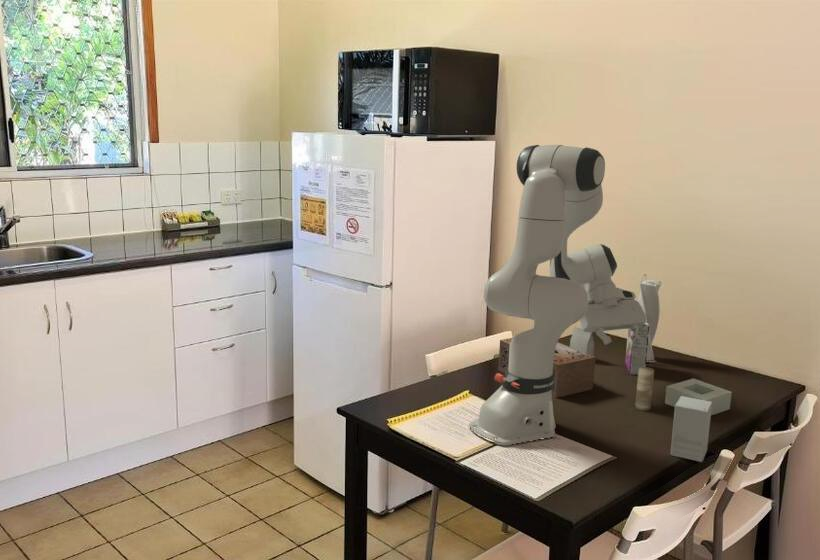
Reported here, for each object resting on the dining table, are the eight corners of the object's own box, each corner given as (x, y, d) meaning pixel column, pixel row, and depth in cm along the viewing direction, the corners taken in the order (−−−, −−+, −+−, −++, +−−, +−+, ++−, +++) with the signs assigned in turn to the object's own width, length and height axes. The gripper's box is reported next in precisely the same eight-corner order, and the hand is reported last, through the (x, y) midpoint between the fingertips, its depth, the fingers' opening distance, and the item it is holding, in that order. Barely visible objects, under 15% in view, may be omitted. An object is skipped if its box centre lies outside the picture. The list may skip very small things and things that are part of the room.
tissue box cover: (592, 389, 213) (595, 357, 211) (555, 398, 206) (557, 364, 204) (534, 363, 235) (536, 333, 233) (498, 370, 227) (499, 339, 225)
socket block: (702, 418, 194) (704, 400, 193) (664, 403, 204) (666, 386, 203) (729, 409, 201) (731, 391, 200) (691, 394, 210) (693, 378, 209)
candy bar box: (623, 363, 237) (628, 313, 233) (640, 364, 236) (644, 314, 232) (628, 374, 226) (633, 323, 222) (645, 376, 225) (650, 324, 221)
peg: (643, 411, 198) (647, 373, 195) (632, 406, 201) (635, 368, 198) (653, 408, 200) (657, 370, 197) (641, 403, 203) (645, 366, 201)
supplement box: (707, 451, 175) (713, 401, 172) (702, 463, 169) (708, 411, 166) (675, 443, 179) (680, 394, 176) (669, 455, 173) (674, 404, 170)
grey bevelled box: (585, 362, 236) (587, 332, 234) (569, 356, 241) (571, 327, 239) (592, 360, 238) (595, 330, 236) (576, 354, 244) (578, 325, 241)
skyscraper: (624, 355, 245) (632, 273, 239) (647, 354, 246) (655, 272, 240) (636, 363, 237) (644, 279, 231) (659, 362, 238) (668, 278, 232)
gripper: (579, 296, 208) (596, 339, 201) (638, 292, 215) (657, 333, 208) (569, 308, 213) (585, 350, 206) (628, 303, 220) (646, 344, 213)
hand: (622, 342), depth 207 cm, fingers open, 8 cm apart
